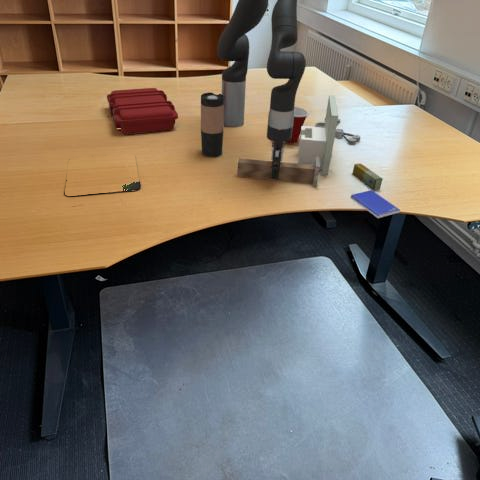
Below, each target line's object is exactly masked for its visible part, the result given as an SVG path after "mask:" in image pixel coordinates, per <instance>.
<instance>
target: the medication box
mask: <svg viewBox="0 0 480 480" xmlns="http://www.w3.org/2000/svg"><path fill="white" fill-rule="evenodd" d="M351 174H352V176H354V177H355V178H356V179H357V180H359V181H360V182H361V183H363V184H364V185H365V186H366V187H368V189H370V190H372V191H374V192H376V191H379V190H381V186H382V184H383V183H382V182H383V180H384V179H383V178H382V177H381V176H380V175H378V174H377V173H375V172H374V171H372V170H371V169H370V168H368V167H367V166H365V165H363V164H362V163H360V162H359V163H354V165H353V169H352V173H351Z"/></svg>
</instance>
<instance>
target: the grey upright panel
mask: <svg viewBox="0 0 480 480" xmlns="http://www.w3.org/2000/svg"><path fill="white" fill-rule="evenodd" d="M338 110H339V109H338V104H337V99H336V94H329V95H328V100H327V107H326V113H325V117H324V123H325V124H324V128H323V127H315V126H311V125H309V126H308V125H303V126H301V133H300V136H299V143H298V151H297V152H298V153H297V157H298V158H297V164H307V165H314V163H315V157H319V160H320V169H319V171H321V176H329V172H330V165H331V160H332V154H333V150H334V143H335V139H336V138H335V132H336V129H337V127H338V125H337V121H338V119H339V112H338Z"/></svg>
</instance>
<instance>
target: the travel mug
mask: <svg viewBox="0 0 480 480" xmlns="http://www.w3.org/2000/svg"><path fill="white" fill-rule="evenodd" d="M224 126H225V125H224V96H223V95H222V93H219V94H216V93H214V92H209V91H208V92H204V93H202V94H201V95H200V138H201V139H200V141H201V155H203V156H204V157H207V158H217V157H220V156H222V154H223V145H224V142H223V141H224Z"/></svg>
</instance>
